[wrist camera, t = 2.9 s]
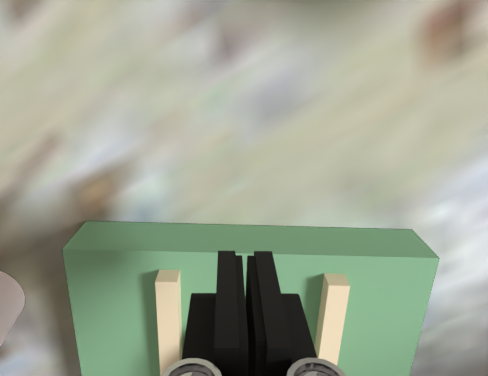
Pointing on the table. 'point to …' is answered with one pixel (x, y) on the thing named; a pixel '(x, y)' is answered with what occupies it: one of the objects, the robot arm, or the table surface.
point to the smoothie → (9, 303)
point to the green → (205, 281)
